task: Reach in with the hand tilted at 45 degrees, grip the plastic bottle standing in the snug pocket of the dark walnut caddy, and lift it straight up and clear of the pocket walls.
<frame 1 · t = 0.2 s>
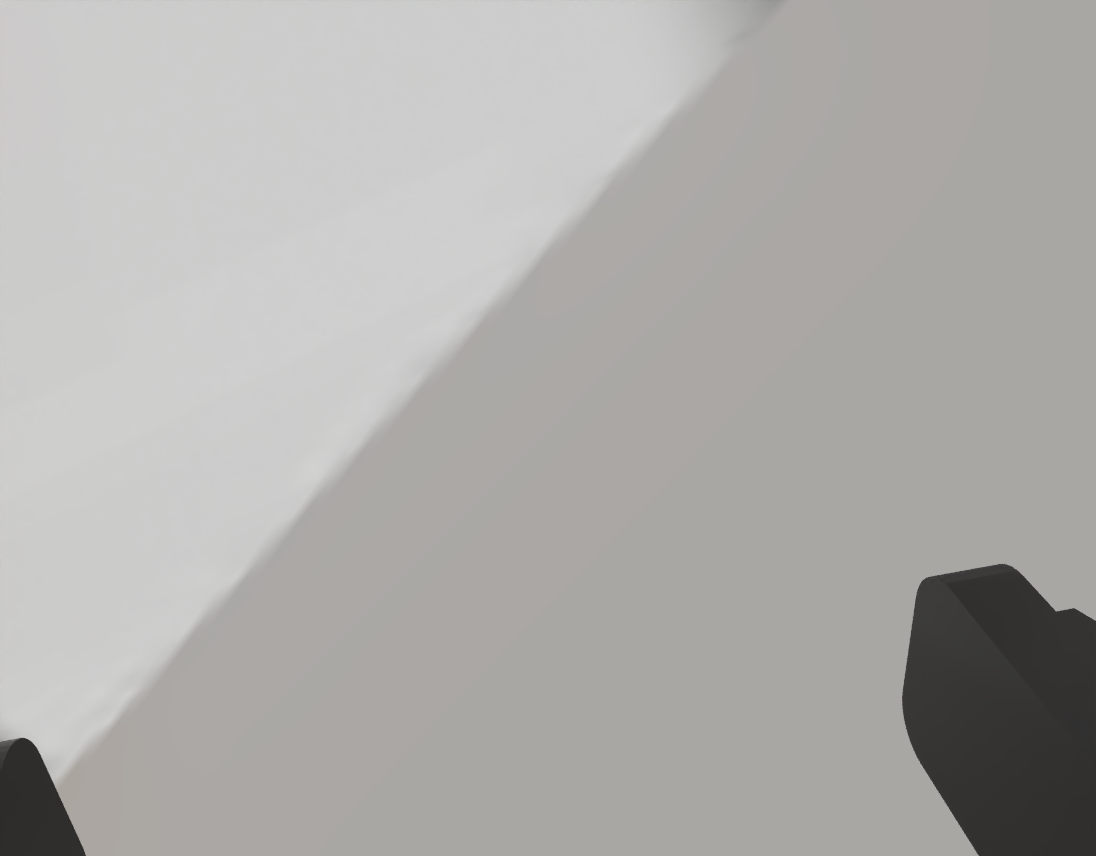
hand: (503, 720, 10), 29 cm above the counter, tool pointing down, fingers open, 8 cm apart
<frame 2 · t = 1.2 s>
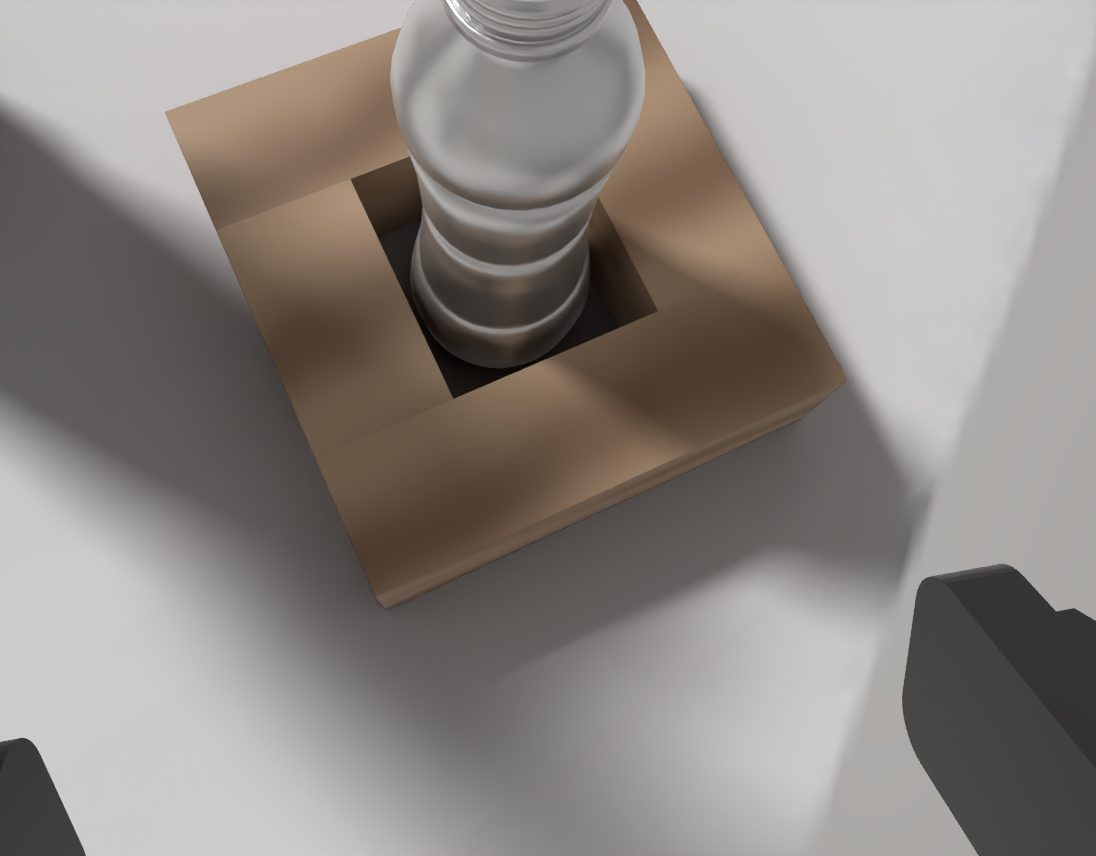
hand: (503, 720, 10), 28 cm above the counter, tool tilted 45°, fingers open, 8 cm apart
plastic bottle: (498, 302, 40), resting in walnut caddy
walnut caddy: (498, 299, 40), on the counter
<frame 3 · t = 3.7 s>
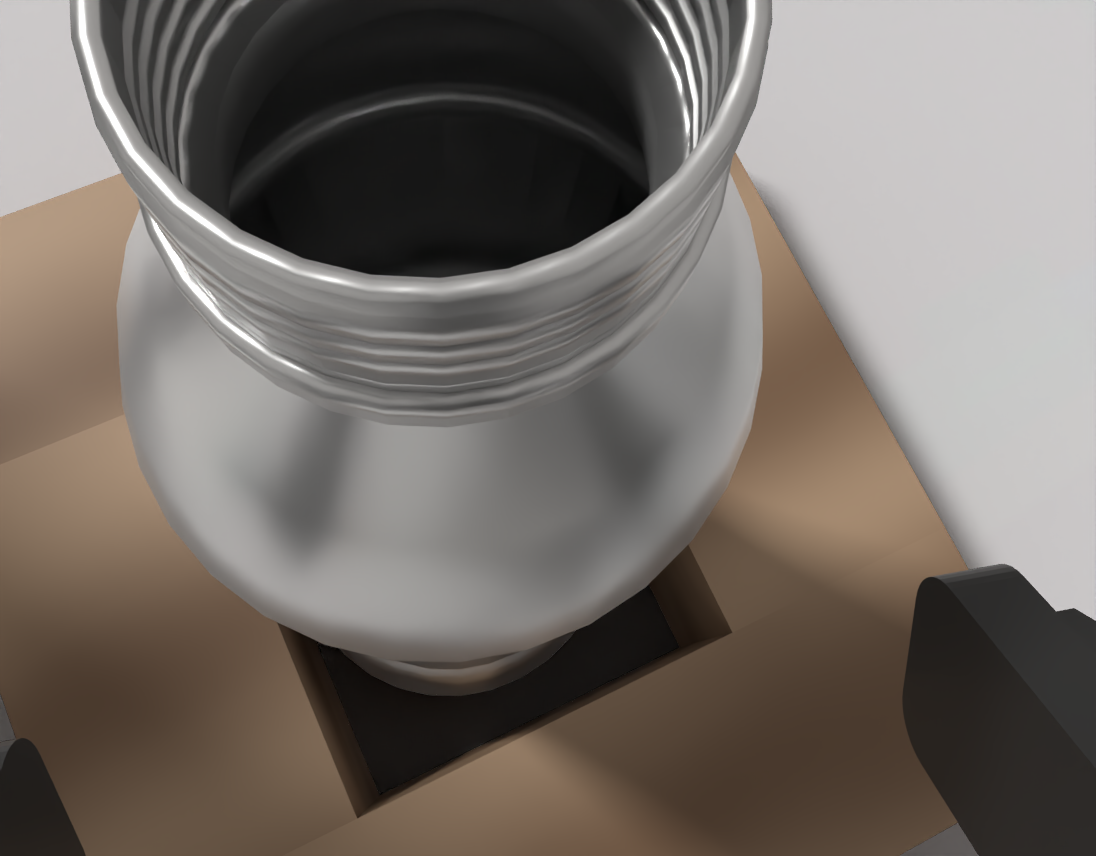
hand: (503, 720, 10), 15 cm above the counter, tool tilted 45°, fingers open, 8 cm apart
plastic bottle: (456, 550, 25), resting in walnut caddy
walnut caddy: (456, 549, 25), on the counter
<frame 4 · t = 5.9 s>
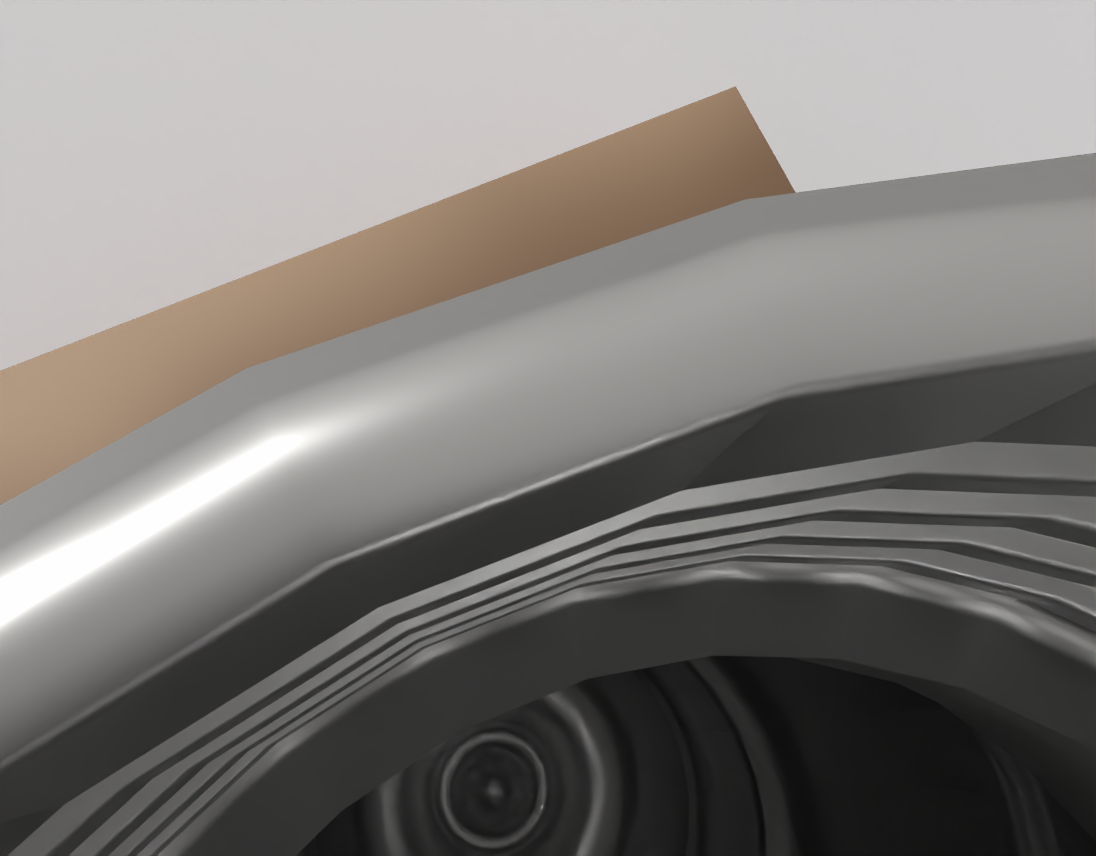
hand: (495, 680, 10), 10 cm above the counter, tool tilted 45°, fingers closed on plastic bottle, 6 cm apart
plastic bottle: (494, 785, 20), resting in walnut caddy, touching gripper
walnut caddy: (494, 786, 20), on the counter
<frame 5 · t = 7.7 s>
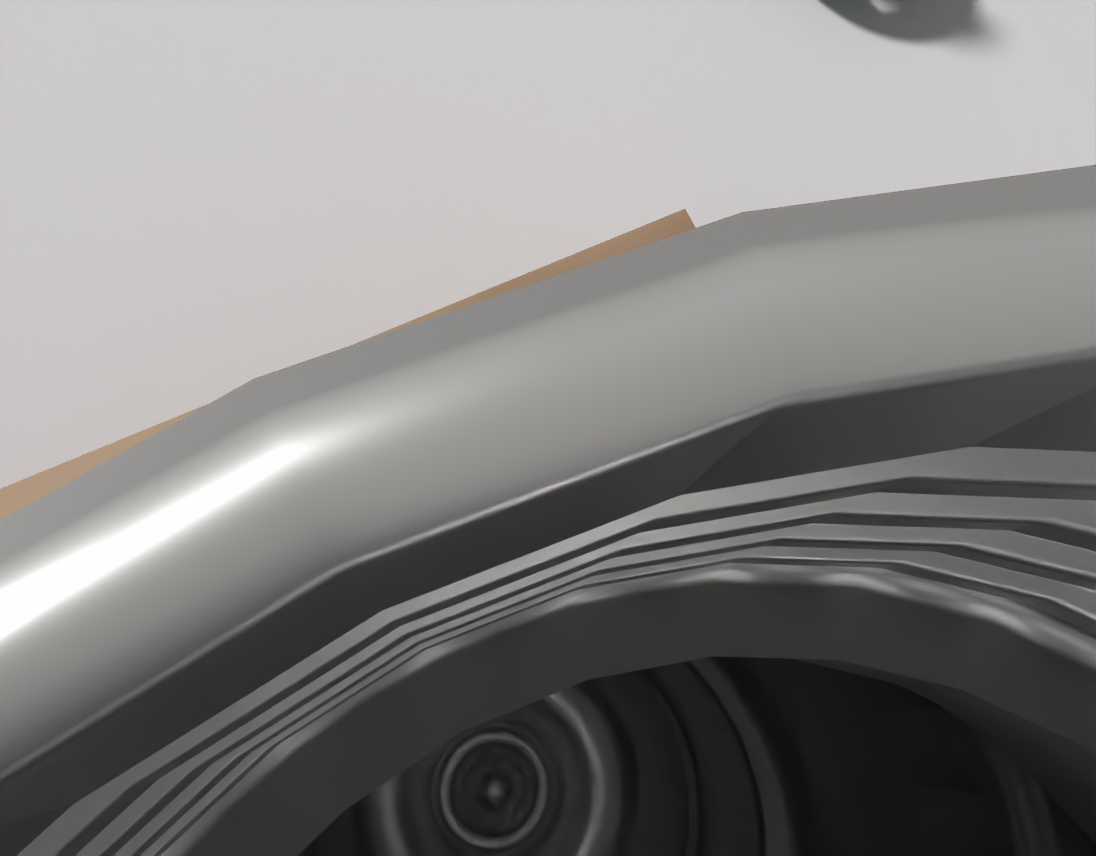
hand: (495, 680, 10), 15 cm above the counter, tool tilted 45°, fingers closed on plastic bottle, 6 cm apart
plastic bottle: (494, 785, 20), point 4 cm above the counter, touching gripper
walnut caddy: (494, 769, 24), on the counter
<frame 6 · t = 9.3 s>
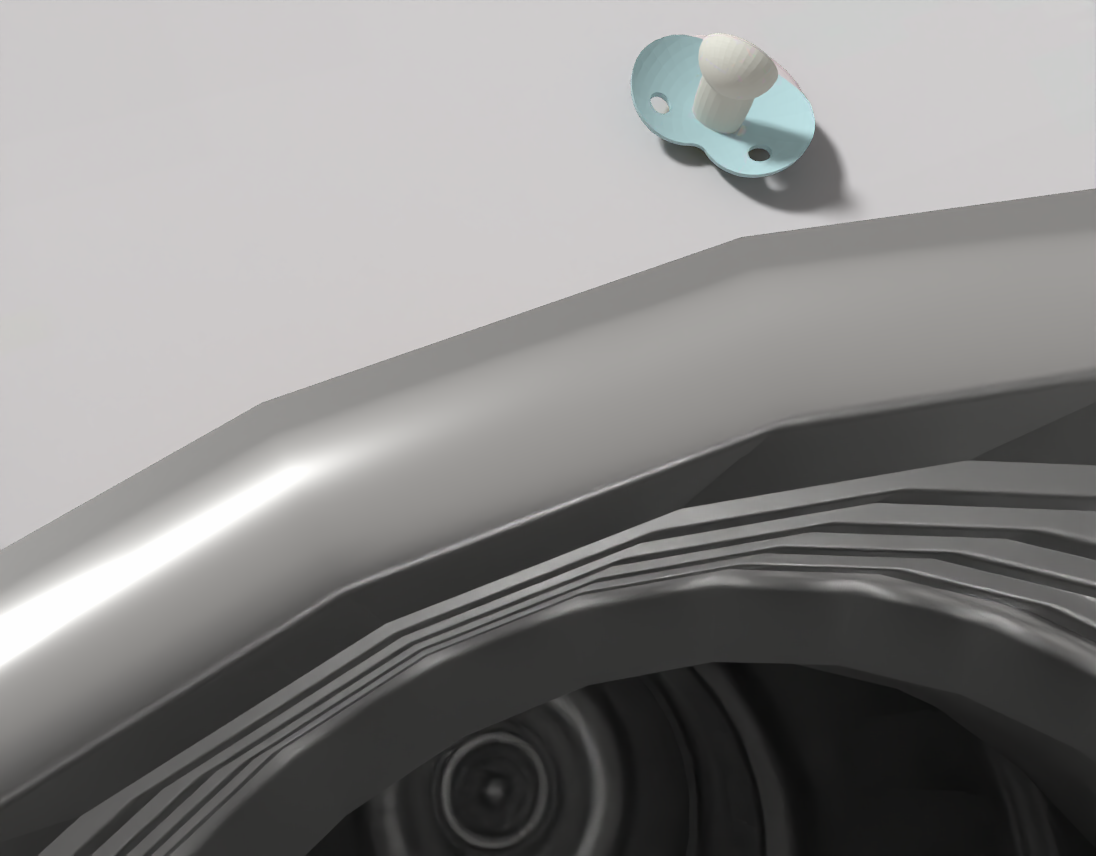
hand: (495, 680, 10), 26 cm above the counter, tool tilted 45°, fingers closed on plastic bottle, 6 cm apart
pacifier: (719, 115, 42), on the counter
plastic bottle: (495, 786, 20), point 16 cm above the counter, touching gripper
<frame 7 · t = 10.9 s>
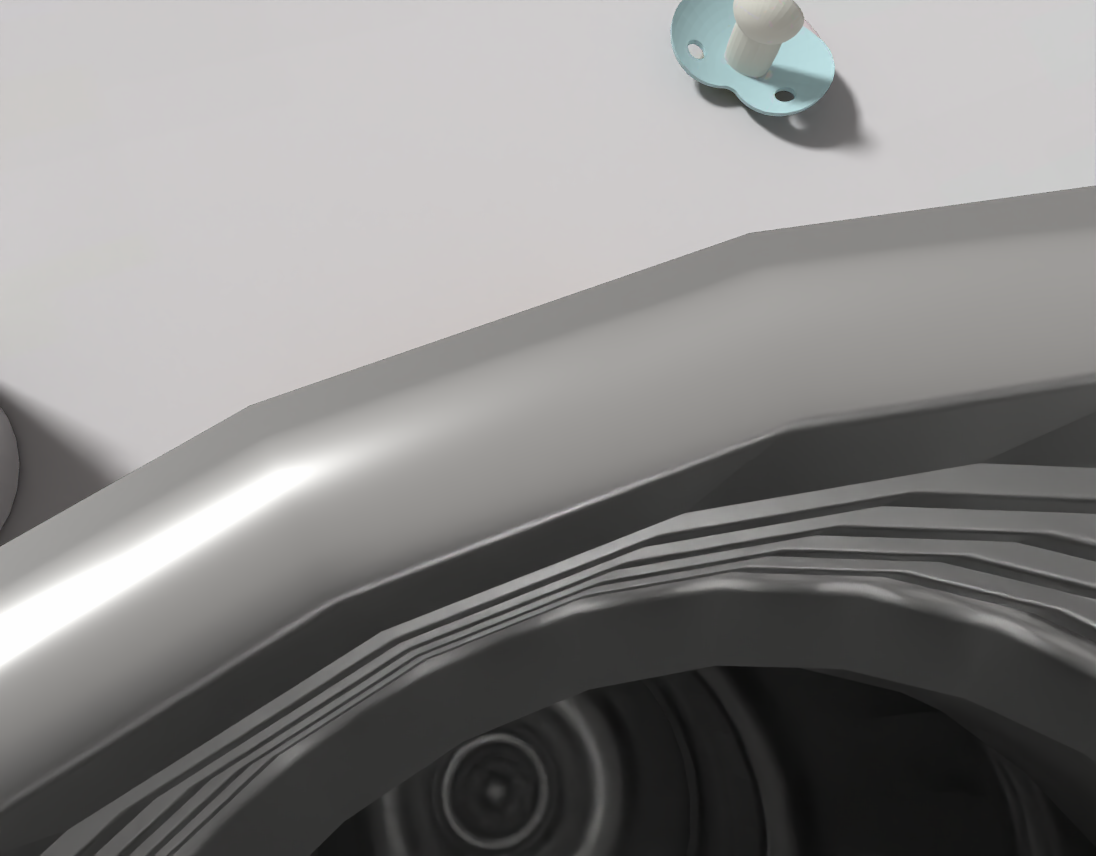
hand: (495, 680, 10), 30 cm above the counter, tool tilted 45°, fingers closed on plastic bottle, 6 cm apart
pacifier: (747, 62, 47), on the counter
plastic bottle: (495, 786, 20), point 20 cm above the counter, touching gripper
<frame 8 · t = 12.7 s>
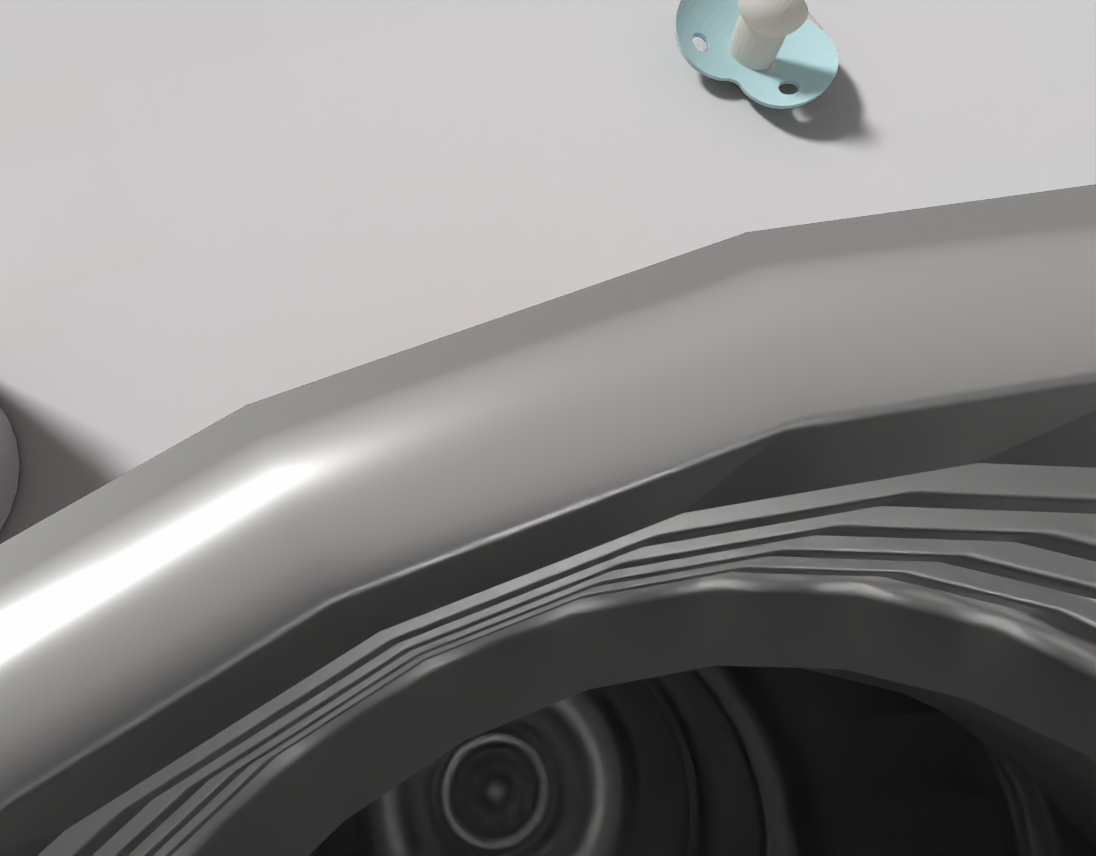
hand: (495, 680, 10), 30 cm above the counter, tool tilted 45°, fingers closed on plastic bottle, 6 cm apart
pacifier: (751, 55, 47), on the counter
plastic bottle: (495, 786, 20), point 20 cm above the counter, touching gripper
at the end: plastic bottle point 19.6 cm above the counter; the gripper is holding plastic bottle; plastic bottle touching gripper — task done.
